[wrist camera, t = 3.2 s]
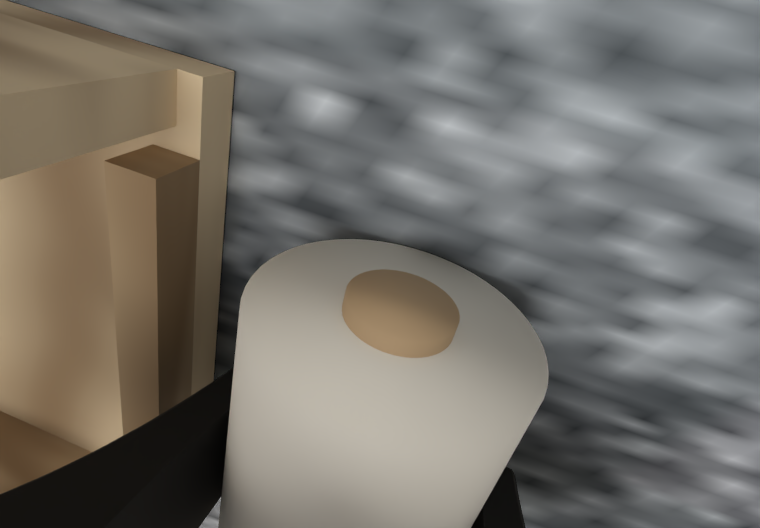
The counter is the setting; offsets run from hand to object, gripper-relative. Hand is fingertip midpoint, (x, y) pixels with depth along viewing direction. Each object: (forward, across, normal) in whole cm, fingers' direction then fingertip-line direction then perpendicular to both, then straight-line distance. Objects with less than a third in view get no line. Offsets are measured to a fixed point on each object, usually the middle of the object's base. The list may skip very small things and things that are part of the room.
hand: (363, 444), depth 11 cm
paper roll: (-1, 0, 0) cm, 1 cm away
